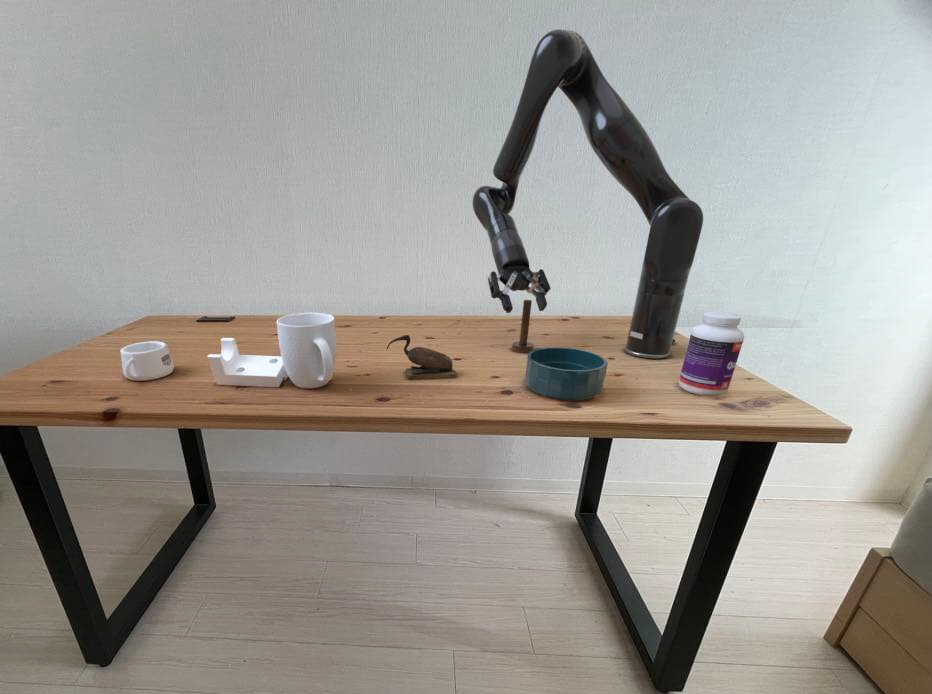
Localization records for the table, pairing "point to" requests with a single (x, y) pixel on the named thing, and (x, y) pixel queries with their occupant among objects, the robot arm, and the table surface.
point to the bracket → (245, 367)
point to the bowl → (565, 373)
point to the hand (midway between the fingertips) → (526, 310)
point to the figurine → (426, 362)
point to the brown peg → (524, 331)
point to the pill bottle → (712, 354)
